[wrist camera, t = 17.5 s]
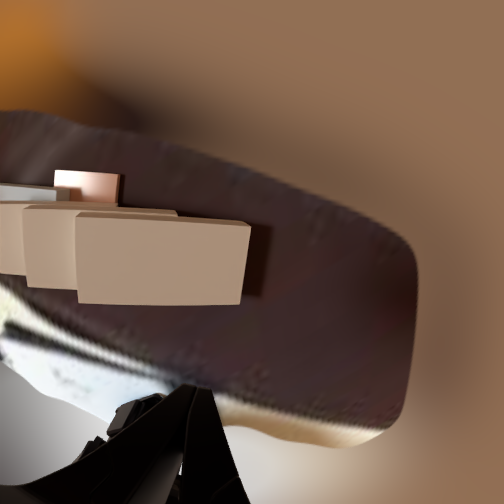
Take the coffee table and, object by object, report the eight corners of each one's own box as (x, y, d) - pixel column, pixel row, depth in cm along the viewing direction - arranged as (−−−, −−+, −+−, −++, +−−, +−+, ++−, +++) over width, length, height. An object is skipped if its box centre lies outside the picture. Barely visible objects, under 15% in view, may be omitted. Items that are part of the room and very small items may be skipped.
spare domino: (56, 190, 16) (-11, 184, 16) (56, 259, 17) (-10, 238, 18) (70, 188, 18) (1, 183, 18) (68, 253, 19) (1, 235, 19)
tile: (114, 295, 20) (112, 297, 20) (57, 278, 20) (54, 280, 20) (120, 174, 18) (117, 174, 17) (58, 169, 18) (55, 169, 17)
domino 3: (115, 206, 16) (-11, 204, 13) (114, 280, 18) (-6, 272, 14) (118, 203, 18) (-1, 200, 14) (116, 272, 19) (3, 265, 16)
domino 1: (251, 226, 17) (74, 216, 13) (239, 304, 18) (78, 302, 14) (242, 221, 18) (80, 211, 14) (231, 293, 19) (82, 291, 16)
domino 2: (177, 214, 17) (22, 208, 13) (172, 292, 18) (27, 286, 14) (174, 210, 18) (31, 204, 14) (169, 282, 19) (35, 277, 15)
